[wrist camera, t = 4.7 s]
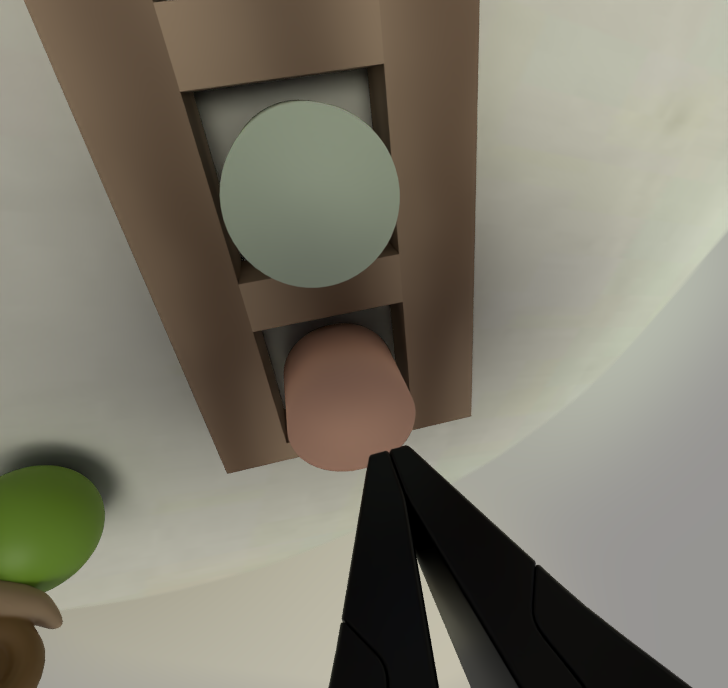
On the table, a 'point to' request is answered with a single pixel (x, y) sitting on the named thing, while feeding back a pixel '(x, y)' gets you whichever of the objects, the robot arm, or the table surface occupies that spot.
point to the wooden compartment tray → (202, 189)
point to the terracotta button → (345, 398)
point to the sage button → (309, 194)
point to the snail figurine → (40, 558)
